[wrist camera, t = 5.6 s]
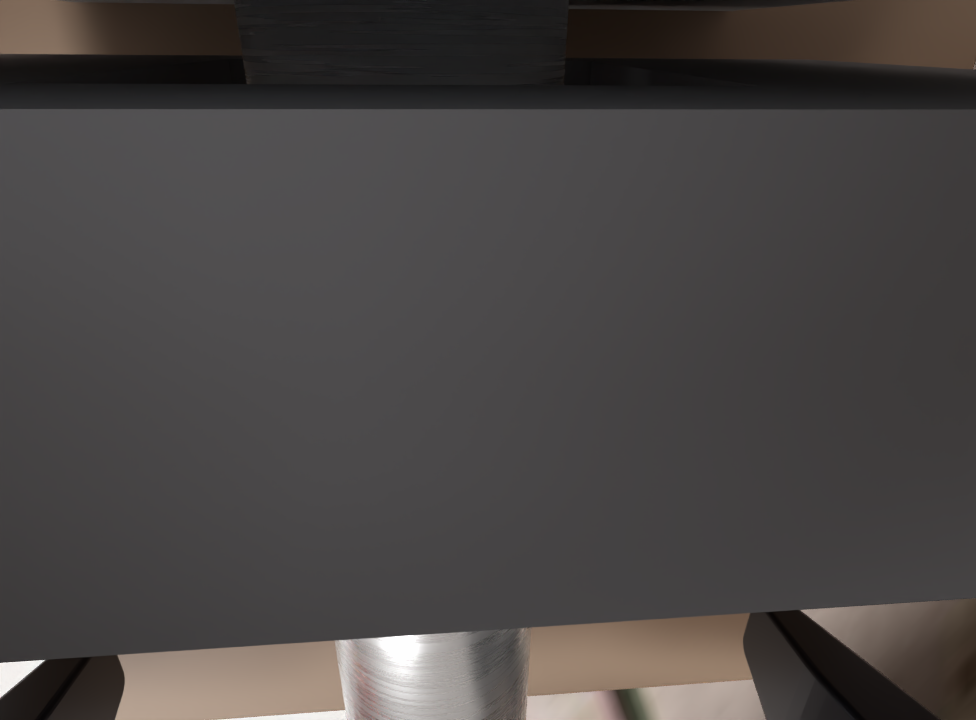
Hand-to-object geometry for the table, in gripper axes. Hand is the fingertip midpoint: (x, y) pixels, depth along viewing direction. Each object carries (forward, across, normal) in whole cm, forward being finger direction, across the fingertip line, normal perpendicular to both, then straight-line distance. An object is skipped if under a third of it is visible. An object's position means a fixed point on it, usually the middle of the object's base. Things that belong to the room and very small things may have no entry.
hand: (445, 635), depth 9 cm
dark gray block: (+4, 0, -6) cm, 7 cm away
